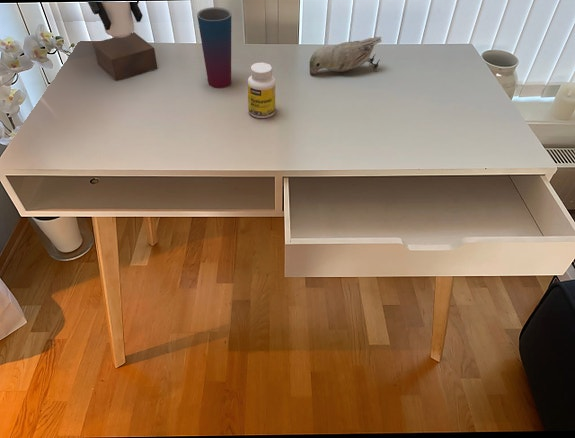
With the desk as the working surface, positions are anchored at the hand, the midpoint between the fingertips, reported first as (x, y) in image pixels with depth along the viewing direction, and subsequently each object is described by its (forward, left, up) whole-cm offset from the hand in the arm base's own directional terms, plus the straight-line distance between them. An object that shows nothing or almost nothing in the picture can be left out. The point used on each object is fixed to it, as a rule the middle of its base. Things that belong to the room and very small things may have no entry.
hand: (124, 22), depth 107 cm
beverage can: (-1, +4, -4) cm, 5 cm away
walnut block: (-1, +4, -11) cm, 12 cm away
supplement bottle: (+18, -27, -11) cm, 35 cm away
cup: (+15, -12, -11) cm, 23 cm away
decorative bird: (+43, -20, -11) cm, 48 cm away
